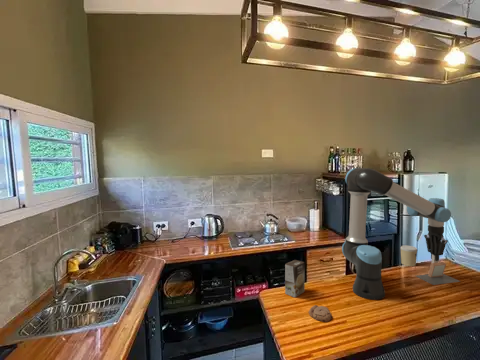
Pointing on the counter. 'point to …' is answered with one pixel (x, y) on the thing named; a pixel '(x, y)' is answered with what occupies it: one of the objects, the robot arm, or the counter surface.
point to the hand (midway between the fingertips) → (434, 265)
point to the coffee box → (294, 278)
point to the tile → (436, 269)
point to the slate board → (437, 279)
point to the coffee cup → (408, 255)
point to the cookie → (320, 313)
